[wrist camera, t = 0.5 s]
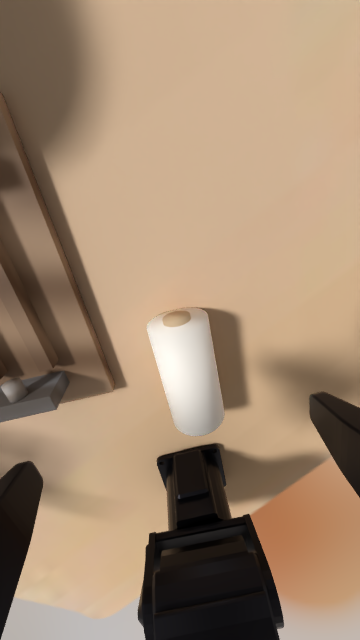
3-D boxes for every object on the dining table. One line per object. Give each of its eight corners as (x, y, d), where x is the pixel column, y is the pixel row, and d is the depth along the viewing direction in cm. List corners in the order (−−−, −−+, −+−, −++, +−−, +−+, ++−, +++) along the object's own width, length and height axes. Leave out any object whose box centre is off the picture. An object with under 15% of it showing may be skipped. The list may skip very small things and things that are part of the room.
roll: (217, 393, 23) (231, 431, 19) (172, 404, 23) (176, 444, 19) (200, 299, 20) (213, 322, 16) (146, 312, 20) (144, 338, 15)
